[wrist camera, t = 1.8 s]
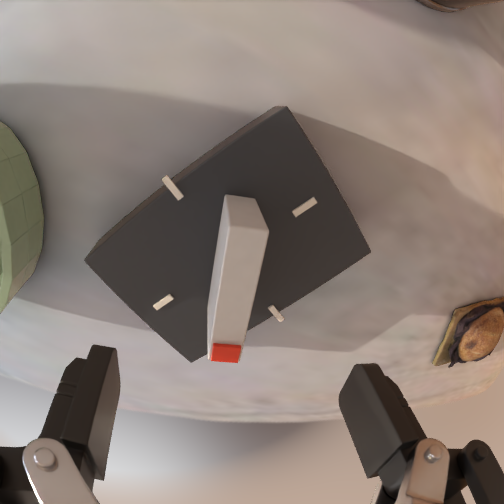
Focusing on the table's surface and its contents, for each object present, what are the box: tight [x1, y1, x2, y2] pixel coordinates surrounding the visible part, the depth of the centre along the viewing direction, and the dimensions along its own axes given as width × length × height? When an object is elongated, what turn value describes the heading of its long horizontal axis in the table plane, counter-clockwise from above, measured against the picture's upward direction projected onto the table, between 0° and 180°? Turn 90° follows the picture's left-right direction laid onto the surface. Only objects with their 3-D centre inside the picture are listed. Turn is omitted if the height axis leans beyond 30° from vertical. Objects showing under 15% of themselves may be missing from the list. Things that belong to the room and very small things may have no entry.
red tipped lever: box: [208, 195, 269, 363], centre depth 15 cm, size 7×2×5 cm, turn 169°
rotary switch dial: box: [84, 106, 371, 362], centre depth 19 cm, size 14×11×3 cm
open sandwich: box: [432, 297, 504, 367], centre depth 27 cm, size 11×8×4 cm
